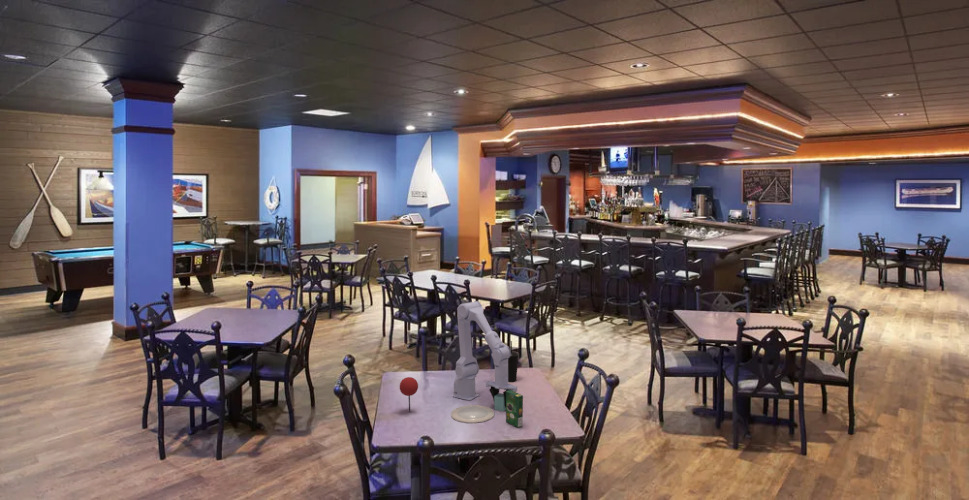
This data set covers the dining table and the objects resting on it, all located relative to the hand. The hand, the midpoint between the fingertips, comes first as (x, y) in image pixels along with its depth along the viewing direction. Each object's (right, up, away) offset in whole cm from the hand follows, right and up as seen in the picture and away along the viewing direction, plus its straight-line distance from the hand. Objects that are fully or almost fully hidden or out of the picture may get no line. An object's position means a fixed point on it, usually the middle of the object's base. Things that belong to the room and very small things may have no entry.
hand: (501, 405), depth 252 cm
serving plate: (-12, -2, -6) cm, 14 cm away
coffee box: (+5, -4, -17) cm, 18 cm away
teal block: (0, -2, 0) cm, 2 cm away
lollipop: (-39, -2, -2) cm, 39 cm away
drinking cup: (+6, +2, +38) cm, 38 cm away
